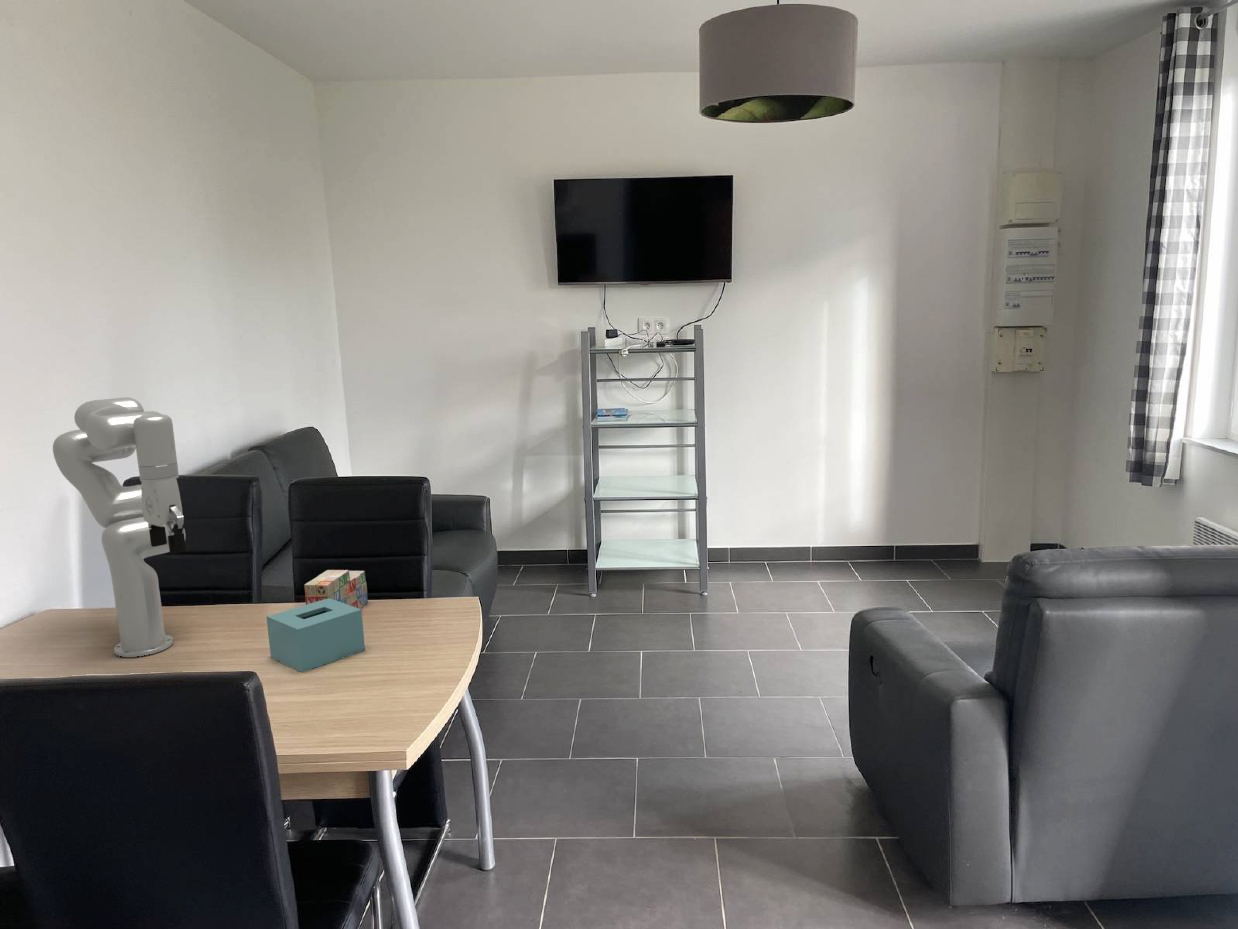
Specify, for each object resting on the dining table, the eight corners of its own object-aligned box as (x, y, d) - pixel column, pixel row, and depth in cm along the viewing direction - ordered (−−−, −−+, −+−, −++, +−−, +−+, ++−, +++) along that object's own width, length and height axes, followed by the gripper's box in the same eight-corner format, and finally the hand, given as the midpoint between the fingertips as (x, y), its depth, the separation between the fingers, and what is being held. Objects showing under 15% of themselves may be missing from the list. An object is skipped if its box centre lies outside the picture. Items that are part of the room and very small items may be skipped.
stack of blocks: (347, 602, 243) (343, 559, 241) (368, 603, 242) (364, 559, 240) (308, 631, 223) (303, 583, 220) (331, 631, 222) (327, 584, 219)
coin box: (270, 657, 206) (266, 616, 204) (332, 637, 217) (329, 598, 216) (302, 672, 196) (297, 629, 195) (364, 650, 208) (361, 609, 207)
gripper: (124, 470, 195) (134, 546, 198) (157, 479, 183) (167, 559, 186) (160, 465, 200) (169, 539, 203) (194, 473, 189) (203, 551, 192)
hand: (168, 548), depth 195 cm, fingers open, 9 cm apart
